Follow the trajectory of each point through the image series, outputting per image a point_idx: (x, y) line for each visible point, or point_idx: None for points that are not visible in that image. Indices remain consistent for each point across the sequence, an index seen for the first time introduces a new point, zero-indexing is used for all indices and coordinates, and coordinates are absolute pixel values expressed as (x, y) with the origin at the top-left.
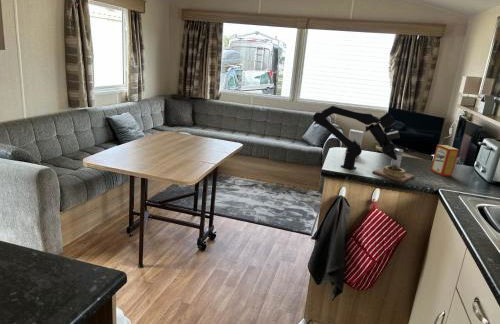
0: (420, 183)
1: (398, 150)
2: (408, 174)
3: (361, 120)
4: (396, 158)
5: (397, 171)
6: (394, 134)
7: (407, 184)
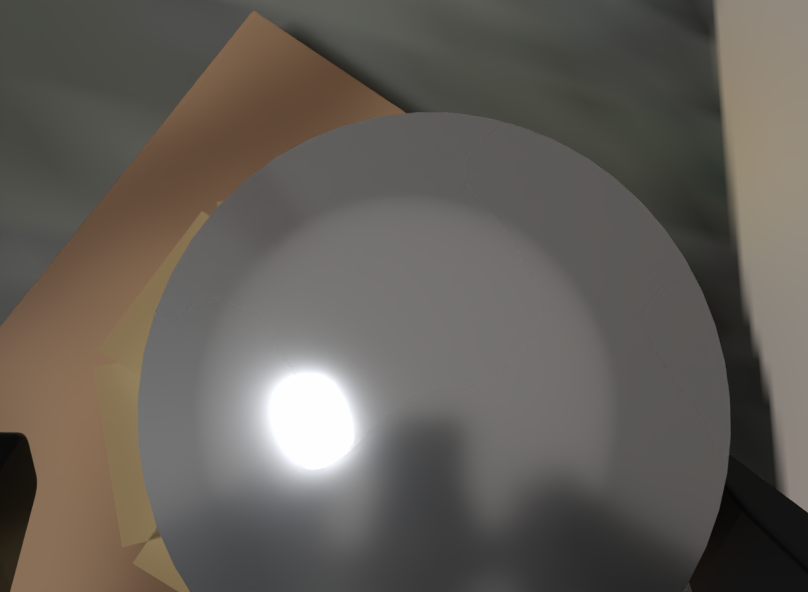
0: (535, 15)
1: (716, 456)
2: (239, 106)
3: None
4: (741, 484)
5: None
6: None
7: (718, 242)
